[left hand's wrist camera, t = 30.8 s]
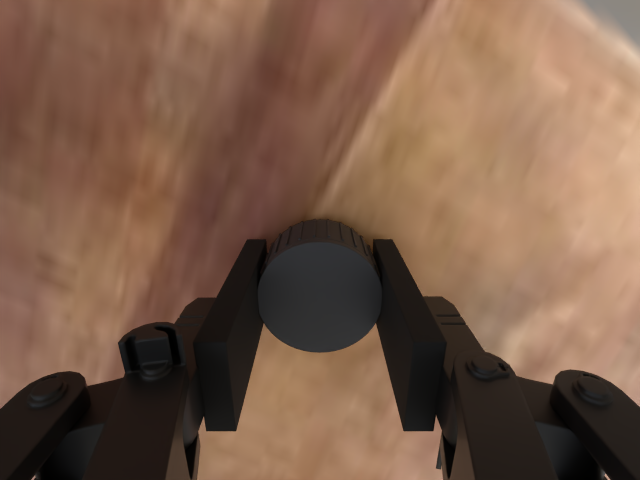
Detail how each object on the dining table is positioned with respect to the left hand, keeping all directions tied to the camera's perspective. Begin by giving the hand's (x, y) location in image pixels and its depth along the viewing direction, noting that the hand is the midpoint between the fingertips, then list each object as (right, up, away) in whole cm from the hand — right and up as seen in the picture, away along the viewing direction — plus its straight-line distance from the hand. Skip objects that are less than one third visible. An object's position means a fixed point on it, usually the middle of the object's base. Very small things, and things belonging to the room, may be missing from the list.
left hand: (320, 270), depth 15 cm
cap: (0, -1, -2) cm, 2 cm away
